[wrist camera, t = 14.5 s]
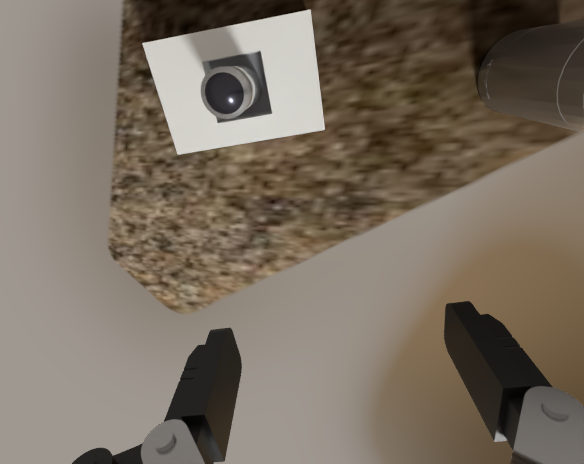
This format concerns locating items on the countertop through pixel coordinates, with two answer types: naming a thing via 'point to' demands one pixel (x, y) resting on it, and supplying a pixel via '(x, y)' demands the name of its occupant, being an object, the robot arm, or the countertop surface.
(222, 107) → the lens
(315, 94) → the white slotted plate
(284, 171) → the countertop surface
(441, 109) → the countertop surface
